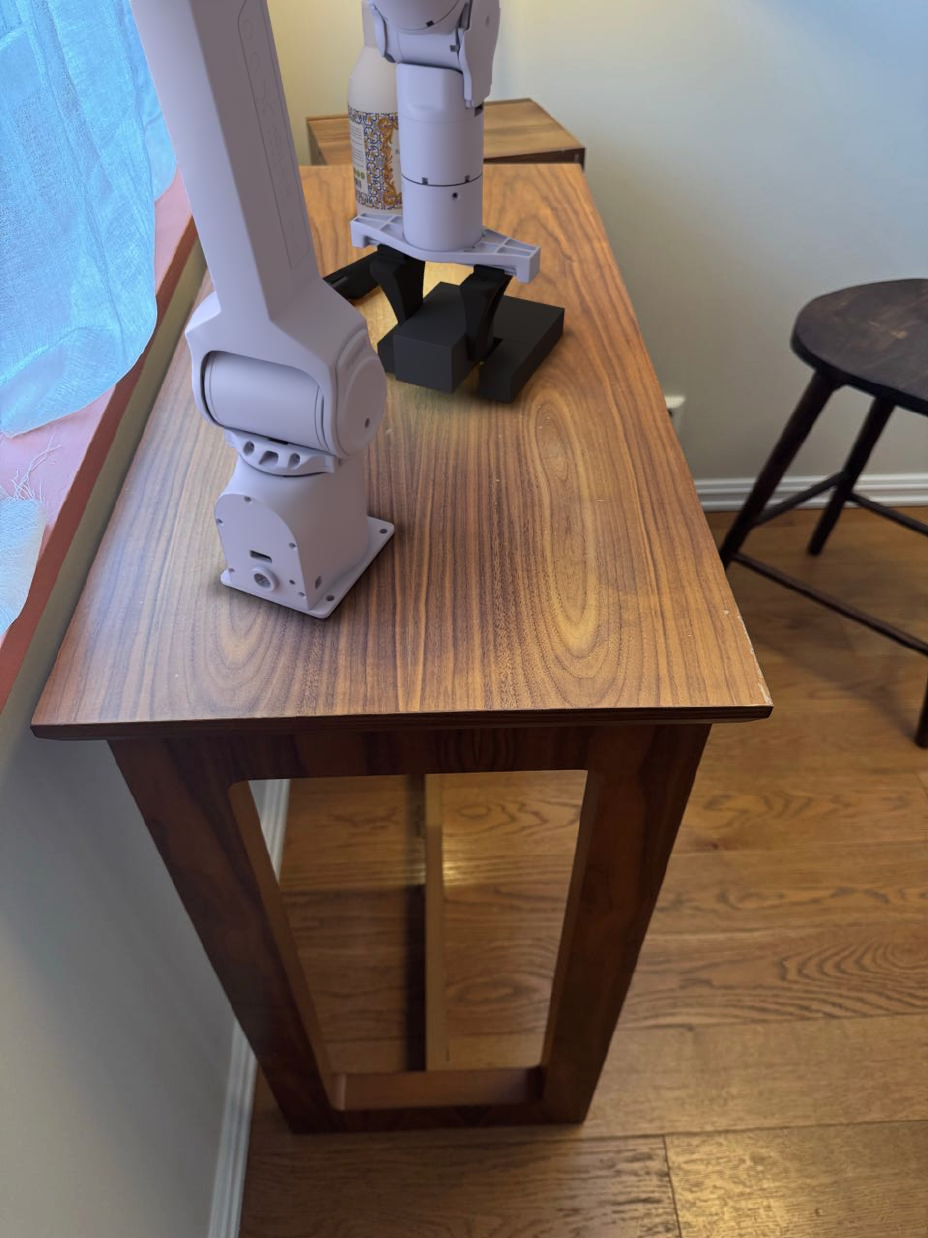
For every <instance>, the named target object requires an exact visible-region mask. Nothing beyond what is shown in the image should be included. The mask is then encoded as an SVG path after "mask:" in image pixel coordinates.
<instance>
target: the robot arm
mask: <svg viewBox="0 0 928 1238" xmlns="http://www.w3.org/2000/svg"><path fill="white" fill-rule="evenodd" d="M128 3H129V7H130V10H131V13H132V17H133V20H134V24H135V26H136V29H137V34H138V38H139V40H140V43H141V47H142V50H143V53H144V57H145V60H146V63H147V68H148V70H149V74H150V77H151V80H152V84H153V87H154V90H155V94H156V97H157V100H158V104H159V107H160V111H161V114H162V118H163V121H164V124H165V127H166V130H167V134H168V137H169V141H170V145H171V147H172V150H173V151H172V152H173V154H174V156H175V161H176V164H177V167H178V171H179V175H180V177H181V181H182V184H183V187H184V190H185V194H186V198H187V201H188V205H189V207H190V211H191V214H192V218H193V221H194V225H195V228H196V232H197V235H198V237H199V241H200V245H201V249H202V251H203V255H204V258H205V262H206V265H207V268H208V272H209V274H210V278H211V281H212V285H213V288H214V290H213V291H212V292H211V293H209V295H207V296H206V298H204V300H202V301H201V303H200V304H199V305H198V306H197V308H196V309H195V310H194V312H193V314H192V315H191V318H190V319H189V322H188V323H187V325H186V328H185V329H184V337H185V339H186V342H187V345H188V349H189V352H190V356H191V388H192V394H193V398H194V402H195V404H196V407H197V410H198V412H199V414H200V415H201V417H202V418H203V419H204V421H206V422H207V423H208V424H210V425H212V426H215V427H218V428H222V430H223V435H224V439H225V443H226V446H228V447H231V448H234V449H235V450H236V451H237V458H236V463H235V468H234V470H233V473H232V476H231V478H230V480H229V481H228V483H227V485H226V487H225V488H224V490H223V491H222V493H221V494H220V495H219V496H218V498H217V500H216V501H215V504H214V508H213V516H214V521H215V526H216V529H217V533H218V537H219V541H220V545H221V548H222V552H223V556H224V560H225V564H226V569H225V570H224V571H223V572H222V573H221V574H220V581H221V583H222V584H223V585H225V586H228V587H230V588H233V589H237V591H238V590H239V591H242V592H244V593H247V594H250V595H252V596H255V597H259V598H262V599H265V600H267V601H270V602H273V603H275V604H278V605H280V606H284V607H287V608H290V609H293V610H296V611H299V612H301V613H304V614H307V615H309V616H313V617H315V618H319V619H326V618H328V617H329V616H330V615H331V614H332V612H333V611H334V610H335V609H336V607H337V606H338V605H339V604H340V602H341V601H342V600H343V598H344V597H345V596H346V595H347V593H348V592H349V591H350V590H351V588H352V587H353V586H354V584H355V583H356V582H357V580H359V578H360V577H361V576H362V574H363V573H364V572H365V570H366V569H367V568H368V567H369V565H370V564H371V562H372V561H374V559H375V558H376V556H377V555H378V554H379V552H380V551H381V550H382V549H383V547H384V546H385V545H386V544H387V542H388V541H389V539H390V538H391V537H392V536H393V535H394V533H395V531H396V530H395V525H394V523H391V522H388V521H386V520H382V519H380V518H376V517H372V516H369V515H368V510H367V500H366V491H365V480H364V472H363V471H364V470H363V462H362V460H363V459H362V452H364V451H365V450H366V449H367V448H368V447H369V446H370V445H371V443H372V442H373V440H374V439H375V437H376V435H377V433H378V431H379V430H380V426H381V424H382V420H383V417H384V413H385V408H386V404H387V391H388V388H387V387H388V385H387V376H386V372H385V371H384V368H383V366H382V364H381V361H380V358H379V356H378V352H377V350H375V348H374V346H373V344H372V341H371V338H370V334H369V328H368V321H367V319H366V317H365V316H364V315H363V314H362V313H361V312H360V311H359V310H358V309H357V308H356V307H355V306H354V305H353V304H351V303H350V301H349V300H348V301H347V300H346V299H344V298H343V297H342V296H341V295H340V294H339V293H337V292H336V291H335V290H334V289H333V288H332V287H330V286H329V285H328V284H327V283H326V282H325V281H324V280H323V279H322V278H323V277H322V276H321V275H320V270H319V265H318V260H317V254H316V249H315V245H314V244H315V243H314V238H313V233H312V229H311V222H310V217H309V213H308V207H307V203H306V198H305V197H306V196H305V192H304V187H303V181H302V176H301V172H300V167H299V160H298V157H297V156H298V155H297V151H296V145H295V140H294V136H293V131H292V130H293V129H292V125H291V120H290V115H289V110H288V109H289V108H288V105H287V99H286V93H285V89H284V82H283V79H282V78H283V77H282V74H281V67H280V63H279V57H278V51H277V47H276V41H275V37H274V32H273V26H272V22H271V16H270V11H269V6H268V5H269V4H268V1H267V0H128ZM368 4H369V5H370V12H371V14H372V16H373V19H374V25H375V35H376V41H377V45H378V49H379V52H380V55H381V57H384V58H385V59H386V60H387V61H388V62H390V63H397V64H398V65H397V66H396V68H395V69H396V88H397V107H398V127H399V147H400V167H401V185H402V205H403V215H392V214H376V213H368V212H362V213H360V214H359V215H358V216H357V215H356V216H355V217H354V218H353V219H351V220H350V221H349V225H350V226H349V227H350V237H351V246H352V247H354V248H357V249H358V248H359V249H366V248H367V247H368V246H369V247H375V248H376V251H377V254H376V259H375V260H374V261H373V262H372V263H371V264H370V271H371V275H372V277H373V278H374V279H375V280H376V281H377V283H378V284H379V286H378V287H380V289H381V290H382V292H383V294H384V295H385V297H386V299H387V301H388V302H389V304H390V307H391V309H392V311H393V313H394V316H395V318H396V321H397V323H398V324H399V327H401V326H402V325H403V324H404V323H405V322H406V321H407V320H408V319H409V318H410V317H411V316H412V315H413V314H414V313H415V312H416V311H417V310H418V309H419V308H420V307H421V306H422V305H423V304H424V303H423V298H424V286H425V285H424V282H425V271H426V262H428V263H434V264H435V263H437V264H454V265H460V266H465V267H469V268H472V270H473V271H472V272H471V273H469V274H468V276H467V277H465V279H464V280H462V282H460V284H459V285H460V293H461V296H462V300H463V305H464V310H465V317H466V349H467V357H468V361H471V362H477V360H478V359H479V358H480V357H481V356H482V355H483V353H484V352H485V351H486V345H487V340H488V336H489V332H490V328H491V325H492V322H493V319H494V316H495V313H496V310H497V308H498V306H499V303H500V301H501V299H502V297H503V295H505V293H506V290H507V288H508V287H509V285H510V283H511V281H512V279H513V277H516V279H515V280H516V281H517V282H518V283H524V284H531V283H532V282H533V281H534V279H535V278H536V277H537V276H538V274H539V273H540V271H541V270H540V269H541V268H540V267H541V254H542V253H541V250H542V248H541V246H538V245H534V244H530V243H527V242H523V241H521V240H518V239H515V238H514V237H511V236H508V235H507V234H504V233H502V232H499V231H497V230H495V229H492V228H489V227H487V226H485V225H483V218H484V217H483V214H484V213H483V212H484V143H485V142H484V140H485V139H484V138H485V137H484V135H485V134H484V133H485V99H486V98H488V97H489V96H490V94H491V87H492V85H493V68H494V67H493V65H494V58H495V53H496V48H497V44H498V39H499V34H500V24H501V7H500V0H368Z"/></svg>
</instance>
